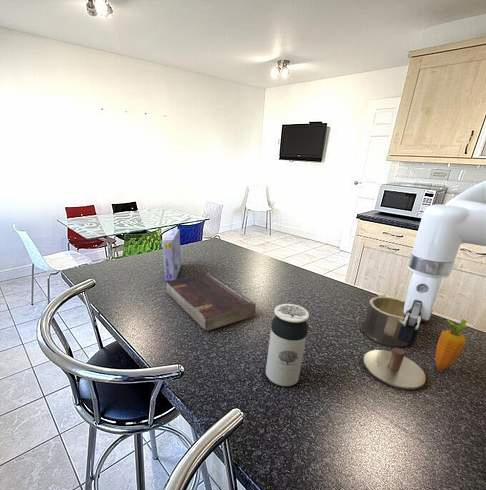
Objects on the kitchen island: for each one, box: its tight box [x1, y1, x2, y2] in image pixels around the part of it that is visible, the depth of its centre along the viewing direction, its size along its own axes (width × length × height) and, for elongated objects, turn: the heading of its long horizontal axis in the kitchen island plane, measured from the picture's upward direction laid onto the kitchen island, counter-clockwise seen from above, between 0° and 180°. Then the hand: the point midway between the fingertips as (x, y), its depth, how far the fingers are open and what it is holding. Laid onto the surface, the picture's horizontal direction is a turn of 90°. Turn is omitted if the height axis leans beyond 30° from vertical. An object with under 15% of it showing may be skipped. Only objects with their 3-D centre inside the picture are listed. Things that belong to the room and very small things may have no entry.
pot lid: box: [362, 347, 427, 390], centre depth 73 cm, size 14×14×6 cm
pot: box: [362, 294, 410, 348], centre depth 87 cm, size 13×18×10 cm
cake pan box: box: [161, 228, 182, 282], centre depth 125 cm, size 19×5×18 cm, turn 178°
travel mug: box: [265, 303, 310, 387], centre depth 68 cm, size 8×8×18 cm
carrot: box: [434, 318, 468, 372], centre depth 71 cm, size 5×5×15 cm
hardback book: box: [165, 272, 257, 332], centre depth 102 cm, size 29×19×5 cm, turn 32°
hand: (407, 331), depth 69 cm, fingers open, 9 cm apart
